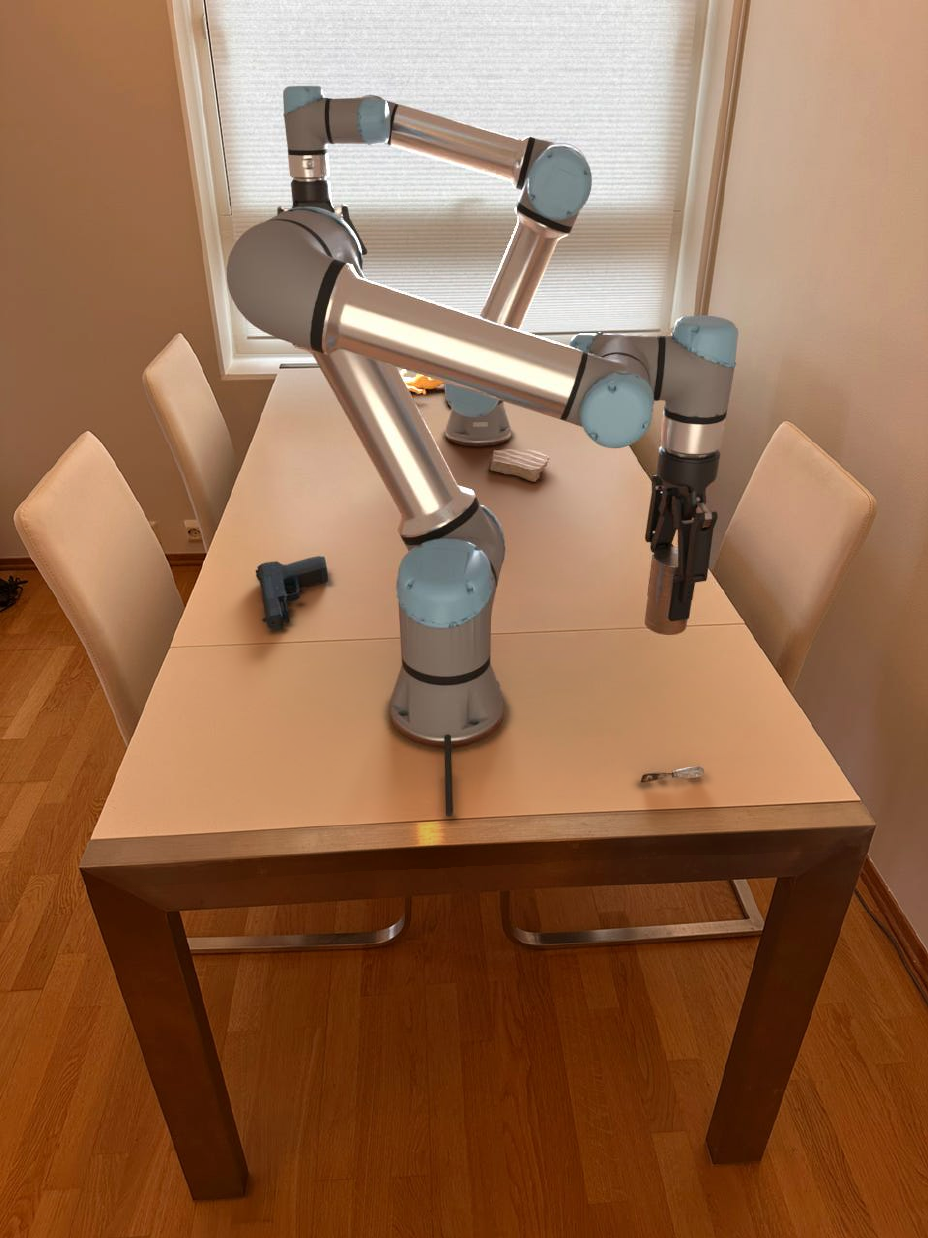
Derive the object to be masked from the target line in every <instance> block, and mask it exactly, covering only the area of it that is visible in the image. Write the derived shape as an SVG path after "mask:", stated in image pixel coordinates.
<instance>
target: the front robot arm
mask: <svg viewBox="0 0 928 1238" xmlns="http://www.w3.org/2000/svg"><path fill="white" fill-rule="evenodd" d="M228 255H229V256H228V260H227V265H226V284H227V288H228V291H229V294H230V297H231V300H232V302H233V303H234V305H235V307H236V309H237V310H238V311H239V313H240V314H241V315H242V317H243V318H244V319H245V320H247V322H249V323H250V324H251V325H252V326H254V327H255V328H257V329H258V330H260V331H261V332H263V333H265V334H268V335H269V336H271V337H274V338H277V339H279V340H282V341H285V342H287V343H290V344H291V345H292V346H293V347H294V348H295V349H299V350H301V351H305V352H308V353H310V354H311V355H312V357H313V358H314V361H316V363H317V365H318V368H319V369H320V371H321V372H322V375H323V376H324V378H325V379H326V381H327V384H328V385H329V387H330V389H331V391H332V392H333V394H334V396H335V398H336V400H337V402H338V403H339V406H341V409H342V410H343V412H344V414H345V416H346V417H347V419H348V421H349V424H350V425H351V426H352V428H353V430H354V432H355V433H356V436H357V437H358V439H359V441H360V443H361V445H362V446H363V448H364V450H365V452H366V453H367V455H368V458H369V459H370V461H371V463H372V464H373V466H374V468H375V470H376V472H377V473H378V476H379V478H381V481H382V482H383V484H384V486H385V488H386V489H387V491H388V493H389V495H390V497H391V499H392V500H393V502H394V504H395V506H396V507H397V509H398V512H399V514H400V515H401V516H400V520H399V523H398V526H397V532H398V535H399V537H400V538H401V540H402V542H403V543H404V545H405V547H406V548H407V550H408V552H407V553H406V554H405V555H404V556H403V557H402V559H401V561H400V563H399V566H398V570H397V578H396V583H395V584H396V585H395V587H396V588H395V589H396V597H397V600H398V602H397V603H398V616H399V617H398V618H399V633H400V634H399V637H400V639H399V640H400V655H401V667H400V669H399V672H398V675H397V678H396V681H395V684H394V687H393V690H392V693H391V696H390V703H389V706H390V718H391V721H392V724H393V725H394V727H395V728H396V729H397V731H398V732H399V733H400V734H402V735H403V736H404V737H406V738H407V739H409V740H411V741H413V742H415V743H417V744H420V745H421V744H422V745H425V746H430V747H437V748H444V790H445V791H444V792H445V794H444V797H445V800H444V801H445V815H446V816H447V817H452V816H453V815H454V801H453V764H452V763H453V762H452V759H453V758H452V748H454V747H455V748H457V747H463V746H467V745H471V744H473V743H476V742H480V741H481V740H483V739H485V738H486V737H488V736H489V735H491V734H492V733H493V732H494V731H495V730H496V729H498V727H499V726H500V724H501V722H502V720H503V717H504V697H503V693H502V690H501V685H500V683H499V681H498V679H497V677H496V674H495V672H494V668H493V666H492V664H491V654H492V653H491V651H492V649H491V648H492V647H491V645H492V614H493V607H494V602H495V597H496V592H497V588H498V583H499V580H500V575H501V572H502V567H503V564H504V563H505V562H504V561H505V556H506V545H505V544H506V542H505V541H506V540H505V534H504V529H503V527H502V525H501V523H500V521H499V519H498V518H497V516H496V515H495V513H493V511H491V510H490V509H489V508H488V507H486V506H485V505H484V504H483V505H481V504H480V502H479V499H478V498H477V496H476V494H475V492H474V490H473V489H471V488H468V487H464V486H462V485H458V483H457V481H456V480H455V477H454V475H453V474H452V471H451V469H450V467H449V466H448V464H447V462H446V460H445V458H444V456H443V454H442V453H441V450H440V448H439V446H438V444H437V443H436V440H435V438H434V437H433V434H432V432H431V430H430V429H429V426H428V425H427V423H426V421H425V419H424V417H423V415H422V412H421V411H420V409H419V407H418V405H417V404H416V401H415V400H414V398H413V395H412V394H411V391H409V390H408V388H407V386H406V384H405V382H404V380H403V378H402V376H401V374H400V370H399V369H402V370H403V369H405V370H407V372H408V371H409V372H411V373H415V374H416V375H417V374H420V375H423V376H427V377H430V378H433V379H436V380H439V381H442V382H445V383H448V384H451V385H455V386H458V387H461V388H464V389H467V390H470V391H473V392H476V393H479V394H482V395H486V396H489V397H492V398H495V399H498V400H501V401H504V402H505V403H508V404H511V405H513V406H517V407H520V408H522V409H523V408H524V409H527V410H529V411H532V412H535V413H539V414H542V415H545V416H548V417H551V418H554V419H558V420H561V421H564V422H566V423H569V424H572V425H575V426H577V427H580V428H583V431H584V433H585V434H586V435H587V436H588V437H589V439H590V440H592V441H593V442H594V443H596V444H597V445H599V446H601V447H604V448H607V449H621V448H625V447H628V446H631V445H633V444H634V443H637V441H639V440H640V439H641V438H643V436H644V435H645V434H646V433H647V432H648V430H649V428H650V426H651V424H652V419H653V412H654V404H655V402H659V401H663V402H664V406H663V412H662V419H661V427H660V428H661V429H660V434H659V444H660V447H658V453H657V462H656V469H655V471H656V474H653V475H652V476H651V495H650V501H649V509H648V513H647V521H646V528H645V535H644V540H645V543H649V544H650V547H649V549H650V552H651V553H652V556H651V560H652V559H653V553H654V552H655V551H656V550H657V549H659V548H663V547H675V545H674V544H673V541H674V538H675V536H676V532H677V547H678V576H674V577H673V580H674V581H673V588H672V595H671V602H670V609H669V616H668V619H669V620H670V621H678V620H684V619H688V620H689V619H690V614H691V608H692V602H693V599H694V592H695V586H696V583H701V582H703V583H704V582H706V581H707V580H708V574H709V567H710V565H709V564H710V560H711V559H710V558H711V551H712V543H713V536H714V535H713V534H714V528H715V526H716V523H717V521H718V517H719V515H718V512H717V511H716V510H711V511H709V509H708V507H707V505H706V504H707V488H708V487H709V486H710V485H711V484H712V483H714V482H715V481H716V479H717V477H718V473H719V465H720V460H721V452H720V449H721V448H722V445H723V438H724V432H725V425H727V420H726V418H727V414H728V407H729V403H730V395H731V390H732V386H733V379H734V374H735V373H734V372H735V368H736V365H737V363H736V358H737V348H738V341H739V340H738V339H739V329H738V328H737V326H736V324H735V323H734V322H732V321H731V320H730V319H727V318H724V317H719V316H715V315H703V314H701V315H699V314H697V315H693V316H692V315H687V316H683V317H680V318H678V319H677V320H676V321H674V324H673V328H672V330H671V332H670V333H671V334H664V335H650V334H649V335H647V334H623V333H605V332H603V331H598V332H596V333H595V332H594V333H577V334H575V335H574V336H573V337H571V339H570V342H569V345H566V344H563V343H560V342H557V341H555V340H551V339H548V338H545V337H542V336H539V335H535V334H533V333H530V332H527V331H524V330H517V329H514V328H511V327H508V326H505V325H502V324H499V323H496V322H493V321H490V320H487V319H484V318H481V317H480V316H478V315H474V314H471V313H468V312H466V311H462V310H459V309H456V308H453V307H451V306H448V305H445V304H441V303H438V302H435V301H432V300H429V299H426V298H422V297H420V296H417V295H414V294H410V293H407V292H404V291H401V290H398V289H395V288H392V287H390V286H386V285H383V284H380V283H378V282H374V281H371V280H368V279H367V278H366V276H365V275H364V273H363V269H364V261H363V260H364V259H363V256H362V251H361V247H360V244H359V242H358V239H357V237H356V235H355V234H354V232H353V231H352V229H351V228H350V227H349V225H348V224H347V223H346V222H345V221H344V220H343V218H340V217H339V216H338V214H337V213H335V214H334V213H332V212H330V211H328V210H325V209H322V208H318V207H297V208H292V207H290V209H289V210H287V211H284V212H280V213H279V214H278V215H277V214H276V215H275V216H273V217H271V218H269V219H267V220H265V221H263V222H260V223H257V224H255V225H253V226H252V227H250V228H248V229H247V230H246V231H245V232H243V233H242V234H241V235H240V237H238V239H237V240H236V241H235V242H234V245H233V247H232V249H231V250H230V253H229V254H228ZM651 567H652V561H651V562H650V568H651ZM650 575H651V569H650V571H649V576H650ZM648 578H649V579H648V583H649V582H650V577H648ZM648 590H649V585H648V588H647V591H648ZM647 596H648V593H647Z"/></svg>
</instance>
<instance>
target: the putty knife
mask: <svg viewBox="0 0 928 1238" xmlns="http://www.w3.org/2000/svg"><path fill="white" fill-rule="evenodd" d="M704 772H705V771H704V768H702V767H701V766H697V765H695V766H688V767H683V768H679V769H675V770H673V771H671V772H653V773H652V772H651V773H650V772H649V773H644V774H642V776H641V779H640V783H642V784H645V783H648V782H653V781H659V780H665V779H668V778H673V779H674V778H675V779H693V778H694V779H695V778H700V777H702V776H703V775H704Z"/></svg>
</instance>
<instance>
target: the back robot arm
mask: <svg viewBox="0 0 928 1238" xmlns="http://www.w3.org/2000/svg"><path fill="white" fill-rule="evenodd" d="M282 101H283V102H282V104H283V119H284V127H285V137H286V145H287V160H288V170H289V176H290V177H291V178H293V179H292V180H291V181H290V190H291V200H292V206H291V207H290V208H288V207H283V206H280V205H279V206H277V207H276V216H277V215H278V214H279V213H280V212H284V211H287V210H289V209H291V208H297V207H318V208H322V209H325V210H328V211H330V212H332V213H334V214H336V215H337V216H339V217H340V218H341V219H343V220H344V221H345V222H346V223H347V224H348V225H349V227H350V228H351V229H352V231H353V232H354V234H355V235H356V237H357V239H358V242H359V244H360V247H361V251H362V257H363V256H366V255H367V254H368V250H367V248H366V246H365V244H364V242H363V241H362V238H361V236H360V235H359V232H358V231H357V228H356V227H355V225H354V223H353V221H352V220H351V218H350V211H349V208H348V205H346V204H345V203H343V204H341V205H340V206H333V203H332V192H331V181H329V179H328V178H329V176H330V165H329V155H328V145H368V146H373V145H382V144H383V145H387V146H390V147H395V148H398V149H402V150H405V151H408V152H411V153H415V154H418V155H421V156H425V157H428V158H432V159H434V160H438V161H442V162H445V163H449V164H452V165H455V166H459V167H461V168H465V169H468V170H472V171H475V172H478V173H482V174H486V175H489V176H492V177H496V178H498V179H502V180H506V181H509V182H511V184H512V186H513V188H514V189H517V190H520V191H521V192H520V195H519V197H518V200H517V202H516V205H515V207H514V211H515V214H516V217H517V223H516V226H515V228H514V231H513V234H512V235H511V239H510V241H509V243H508V245H507V248H506V250H505V253H504V255H503V258H502V260H501V263H500V265H499V268H498V270H497V272H496V275H495V277H494V280H493V283H492V285H491V288H490V290H489V292H488V295H487V298H486V299H485V303H484V306H483V307H482V310H481V312H480V315H479V317H481V318H484V319H487V320H490V321H493V322H496V323H499V324H502V325H505V326H508V327H511V328H514V329H517V330H520V329H521V328H522V325H523V323H524V321H525V318H526V316H527V314H528V311H529V309H530V307H531V305H532V303H533V302H532V301H533V300H534V297H535V295H536V293H537V291H538V287H539V285H540V284H541V281H542V280H543V277H544V275H545V272H546V270H547V267H548V265H549V263H550V260H551V258H552V256H553V254H554V251H555V249H556V247H557V245H558V243H559V241H560V240H561V239H563V238H565V237H568V236H570V234H571V232H572V230H573V228H574V225H575V223H576V220H577V219H578V217H579V214H580V212H581V210H582V209H583V207H584V206H585V205H586V203H587V201H588V200H589V198H590V195H591V191H592V185H593V184H592V183H593V178H592V177H593V175H592V172H591V171H592V170H591V167H590V164H589V163H588V160H587V159H586V157H585V155H584V153H583V152H582V151H581V150H580V149H579V148H578V147H576V146H575V145H573V144H571V143H568V142H561V141H551V140H545V139H541V138H537V137H532V136H529V135H527V136H526V137H524V138H522V139H519V138H516V137H512V136H509V135H506V134H502V133H498V132H495V131H492V130H488V129H485V128H482V127H478V126H474V125H471V124H469V123H465V122H462V121H458V120H454V119H451V118H448V117H444V116H441V115H437V114H435V113H431V112H428V111H424V110H421V109H417V108H413V107H410V106H407V105H404V104H399V103H396V102H394V101H389V100H386V99H384V98H383V97H381V96H378V95H374V94H365V95H363V96H359V97H346V98H345V97H344V98H341V97H340V98H332V97H331V98H330V97H325V94H324V90H323V88H322V86H319V85H289V86H286V87H285V88H284V89H283V92H282ZM444 396H445V399H446V402H447V404H448V405H449V406H450V413H449V416H448V420H447V423H446V426H445V437H446V438H447V439H448V440H449V441H450V442H452V443H454V444H458V445H461V446H466V447H490V446H491V447H492V446H495V445H500V444H503V443H505V442H507V441H508V440H509V439H510V438H511V435H512V434H511V433H512V428H511V423H510V420H509V416H508V413H507V411H506V407H505V404H504V401H501V400H498V399H495V398H492V397H489V396H486V395H482V394H479V393H476V392H473V391H470V390H467V389H464V388H461V387H458V386H455V385H451V384H448V383H445V384H444Z"/></svg>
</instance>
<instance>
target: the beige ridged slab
mask: <svg viewBox="0 0 928 1238" xmlns="http://www.w3.org/2000/svg"><path fill="white" fill-rule="evenodd" d="M549 461H550V456H549V455H547V454H545V453H543V451H542V450H540V451H537V450H533V449H525V448H524V449H523V448H521V449H510V448H502V449H494V450H493V452H492V459H491V465H490V469H489V470H490V471H492V472H497V473H501V474H504V475H513V476H517V477H520V478H522V479H524V480H527V481H529V482H533V483H534V482H537V480H539V478H540V476H541V472H542V471H544V469H545V468H547V466H548V463H549Z"/></svg>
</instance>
